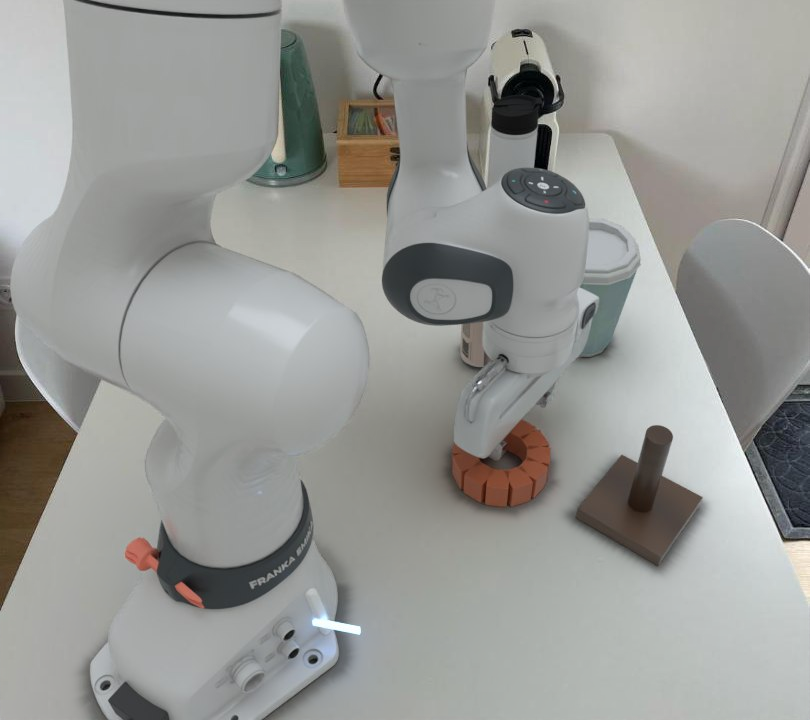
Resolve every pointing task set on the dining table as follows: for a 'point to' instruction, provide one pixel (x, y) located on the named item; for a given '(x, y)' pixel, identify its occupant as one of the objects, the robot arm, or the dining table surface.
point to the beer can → (473, 345)
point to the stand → (641, 501)
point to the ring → (506, 483)
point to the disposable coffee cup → (608, 278)
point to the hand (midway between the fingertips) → (519, 427)
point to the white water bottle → (512, 135)
